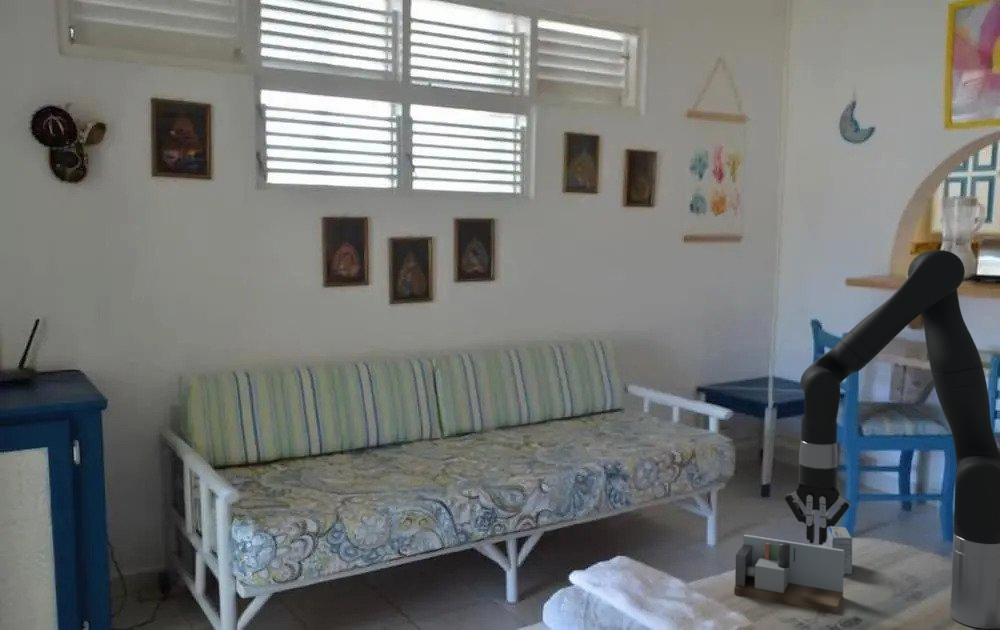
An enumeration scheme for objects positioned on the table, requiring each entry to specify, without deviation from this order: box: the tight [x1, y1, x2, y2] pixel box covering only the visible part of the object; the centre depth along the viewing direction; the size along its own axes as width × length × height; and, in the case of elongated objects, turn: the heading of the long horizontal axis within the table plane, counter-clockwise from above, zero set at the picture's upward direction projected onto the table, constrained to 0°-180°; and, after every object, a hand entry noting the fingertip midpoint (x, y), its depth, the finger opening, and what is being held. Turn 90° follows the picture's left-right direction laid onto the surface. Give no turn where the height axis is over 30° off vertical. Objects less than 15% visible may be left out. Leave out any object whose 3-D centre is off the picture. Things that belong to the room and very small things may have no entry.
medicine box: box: [826, 526, 853, 575], centre depth 201 cm, size 8×4×9 cm, turn 168°
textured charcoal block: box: [734, 545, 752, 588], centre depth 190 cm, size 2×7×7 cm, turn 152°
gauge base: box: [733, 577, 844, 614], centre depth 186 cm, size 21×9×2 cm, turn 61°
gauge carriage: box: [747, 542, 790, 593], centre depth 187 cm, size 9×6×10 cm, turn 62°
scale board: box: [742, 534, 845, 593], centre depth 189 cm, size 21×1×9 cm, turn 61°
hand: (816, 542), depth 182 cm, fingers closed
